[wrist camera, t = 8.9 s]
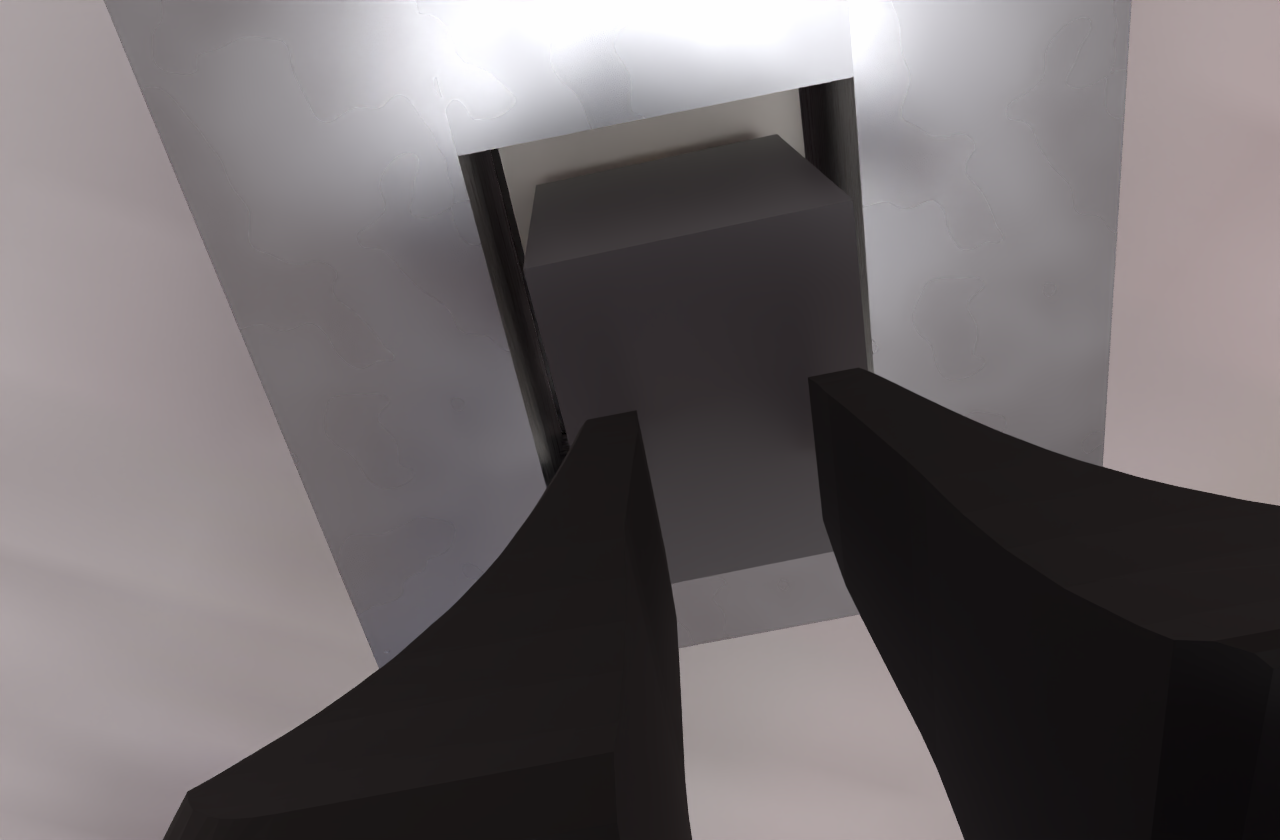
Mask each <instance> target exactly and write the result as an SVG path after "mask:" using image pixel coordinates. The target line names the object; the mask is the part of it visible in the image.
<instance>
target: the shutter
mask: <svg viewBox="0 0 1280 840" xmlns="http://www.w3.org/2000/svg"><path fill="white" fill-rule="evenodd" d="M774 134H778V135H779V136H780V137H781V138H782V139H783V140H785V141H786V142H787V143H788V144H789V145H790V146H791V147H793V148H794V149H795V150H796V151H797V152H798V153H800V154H801V155H802V156H803V157H804V158H805V150H804V140H803V130H802V119H801V109H800V98H799V88H796V89H791V90H786V91H781V92H776V93H771V94H766V95H761V96H756V97H751V98H746V99H741V100H736V101H731V102H726V103H721V104H716V105H711V106H706V107H701V108H696V109H691V110H686V111H681V112H676V113H671V114H666V115H661V116H656V117H651V118H646V119H641V120H636V121H631V122H626V123H621V124H616V125H611V126H606V127H601V128H596V129H591V130H586V131H581V132H576V133H571V134H566V135H561V136H556V137H551V138H546V139H541V140H536V141H531V142H526V143H521V144H516V145H511V146H506V147H501V148H498V150H499V154H500V158H501V163H502V167H503V171H504V175H505V179H506V183H507V187H508V191H509V195H510V199H511V203H512V207H513V211H514V215H515V219H516V223H517V227H518V231H519V235H520V239H521V243H522V247H523V252H524V256H525V253H526V247H527V240H528V234H529V227H530V221H531V214H532V208H533V201H534V195H535V188H536V185H539V184H544V183H549V182H553V181H558V180H563V179H567V178H572V177H577V176H581V175H586V174H591V173H596V172H600V171H605V170H610V169H614V168H619V167H624V166H628V165H633V164H638V163H643V162H647V161H652V160H657V159H661V158H666V157H671V156H675V155H680V154H685V153H690V152H694V151H699V150H704V149H708V148H713V147H718V146H722V145H727V144H732V143H736V142H741V141H746V140H751V139H755V138H760V137H765V136H769V135H774Z"/></svg>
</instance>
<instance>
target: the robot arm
mask: <svg viewBox="0 0 1280 840" xmlns="http://www.w3.org/2000/svg"><path fill="white" fill-rule="evenodd" d="M808 385H809V395H810V404H811V413H812V423H813V432H814V442H815V451H816V461H817V470H818V480H819V489H820V498H821V508H822V517H823V522H824V525H825V528H826V531H827V534H828V537H829V540H830V543H831V546H832V549H833V552H834V555H835V557H836V560H837V563H838V566H839V569H840V571H841V574H842V577H843V580H844V583H845V585H846V588H847V590H848V592H849V594H850V596H851V598H852V600H853V602H854V604H855V606H856V608H857V610H858V612H859V614H860V616H861V618H862V619H863V621H864V623H865V625H866V627H867V629H868V631H869V633H870V635H871V637H872V639H873V641H874V643H875V645H876V647H877V649H878V651H879V653H880V655H881V657H882V659H883V661H884V663H885V664H886V666H887V668H888V670H889V672H890V674H891V676H892V678H893V680H894V682H895V684H896V686H897V688H898V690H899V692H900V694H901V696H902V698H903V699H904V701H905V703H906V705H907V707H908V709H909V711H910V713H911V715H912V717H913V719H914V721H915V723H916V725H917V727H918V729H919V731H920V733H921V735H922V737H923V739H924V741H925V743H926V745H927V748H928V750H929V752H930V754H931V756H932V759H933V761H934V763H935V765H936V767H937V770H938V772H939V775H940V777H941V780H942V782H943V785H944V788H945V790H946V793H947V795H948V798H949V801H950V803H951V806H952V808H953V811H954V814H955V816H956V819H957V821H958V824H959V826H960V829H961V832H962V834H963V837H964V839H965V840H1280V506H1277V505H1271V504H1265V503H1259V502H1252V501H1247V500H1241V499H1236V498H1231V497H1227V496H1222V495H1217V494H1212V493H1207V492H1202V491H1197V490H1192V489H1187V488H1183V487H1178V486H1173V485H1169V484H1165V483H1161V482H1156V481H1152V480H1148V479H1144V478H1140V477H1136V476H1132V475H1129V474H1126V473H1122V472H1119V471H1115V470H1112V469H1108V468H1105V467H1101V466H1098V465H1094V464H1091V463H1088V462H1084V461H1081V460H1077V459H1074V458H1071V457H1068V456H1065V455H1062V454H1059V453H1056V452H1053V451H1050V450H1047V449H1045V448H1042V447H1039V446H1037V445H1034V444H1032V443H1029V442H1026V441H1024V440H1021V439H1019V438H1016V437H1013V436H1011V435H1008V434H1005V433H1003V432H1000V431H998V430H996V429H993V428H991V427H988V426H986V425H984V424H981V423H979V422H977V421H974V420H972V419H970V418H968V417H965V416H963V415H961V414H959V413H956V412H954V411H952V410H950V409H948V408H946V407H943V406H941V405H939V404H937V403H935V402H933V401H931V400H929V399H927V398H924V397H922V396H920V395H918V394H916V393H914V392H912V391H910V390H908V389H906V388H904V387H902V386H900V385H898V384H896V383H894V382H892V381H889V380H887V379H885V378H883V377H881V376H879V375H877V374H874V373H872V372H870V371H867V370H865V369H862V368H859V367H858V368H853V369H848V370H842V371H837V372H832V373H827V374H822V375H817V376H811V377H808ZM163 840H692V835H691V829H690V822H689V815H688V805H687V794H686V783H685V769H684V749H683V729H682V708H681V688H680V668H679V649H678V630H677V616H676V610H675V604H674V598H673V592H672V586H671V581H670V575H669V569H668V563H667V557H666V552H665V546H664V542H663V537H662V532H661V527H660V522H659V517H658V512H657V507H656V503H655V498H654V493H653V488H652V483H651V478H650V473H649V468H648V464H647V459H646V454H645V449H644V444H643V439H642V434H641V429H640V425H639V420H638V415H637V410H635V411H630V412H625V413H619V414H614V415H609V416H604V417H599V418H593V419H588V420H586V421H585V423H584V424H583V426H582V427H581V428H580V430H579V432H578V433H577V435H576V437H575V439H574V441H573V443H572V445H571V447H570V449H569V451H568V453H567V454H566V456H565V458H564V460H563V462H562V463H561V465H560V467H559V469H558V470H557V472H556V474H555V476H554V477H553V479H552V480H551V482H550V484H549V485H548V487H547V488H546V490H545V492H544V493H543V495H542V496H541V498H540V500H539V501H538V503H537V504H536V506H535V507H534V509H533V510H532V512H531V513H530V515H529V516H528V518H527V519H526V520H525V522H524V523H523V524H522V526H521V527H520V529H519V530H518V531H517V533H516V534H515V535H514V537H513V538H512V539H511V541H510V542H509V544H508V545H507V546H506V548H505V549H504V550H503V552H502V553H501V554H500V555H499V557H498V558H497V559H496V560H495V561H494V562H493V564H492V565H491V566H490V567H489V568H488V569H487V571H486V572H485V573H484V574H483V575H482V576H481V577H480V578H479V579H478V580H477V581H476V582H475V583H474V584H473V585H472V586H471V587H470V589H469V590H468V591H467V592H466V593H465V594H464V595H463V596H462V597H461V598H460V599H459V600H458V601H457V602H456V603H455V604H454V605H453V606H452V607H451V608H450V609H449V610H448V611H446V612H445V613H444V614H443V615H442V616H441V617H440V618H438V619H437V620H436V621H435V622H434V623H433V624H432V625H431V626H429V627H428V628H427V629H426V630H425V631H424V632H423V633H421V634H420V635H419V636H418V637H417V638H416V639H415V640H413V641H412V642H411V643H410V644H409V645H408V646H407V647H406V648H404V649H403V650H402V651H401V652H400V653H399V654H398V655H396V656H395V657H394V658H393V659H391V660H390V661H389V662H388V663H386V664H385V665H384V666H383V667H381V668H380V669H379V670H377V671H376V672H375V673H373V674H372V675H371V676H369V677H368V678H367V679H365V680H364V681H363V682H361V683H360V684H359V685H357V686H356V687H355V688H353V689H352V690H351V691H349V692H348V693H346V694H345V695H343V696H342V697H341V698H339V699H338V700H336V701H335V702H333V703H332V704H331V705H329V706H328V707H326V708H325V709H323V710H322V711H321V712H319V713H318V714H316V715H315V716H313V717H312V718H310V719H309V720H307V721H306V722H304V723H302V724H301V725H299V726H298V727H296V728H295V729H293V730H292V731H290V732H288V733H287V734H285V735H283V736H282V737H280V738H278V739H277V740H275V741H273V742H272V743H270V744H268V745H267V746H265V747H263V748H262V749H260V750H258V751H257V752H255V753H253V754H252V755H250V756H248V757H247V758H245V759H243V760H242V761H240V762H238V763H237V764H235V765H233V766H232V767H230V768H228V769H227V770H225V771H223V772H222V773H220V774H218V775H217V776H215V777H213V778H211V779H210V780H208V781H206V782H204V783H202V784H201V785H199V786H197V787H195V788H193V789H192V790H190V791H188V792H187V794H186V796H185V798H184V800H183V802H182V803H181V805H180V807H179V809H178V811H177V813H176V815H175V817H174V819H173V821H172V823H171V825H170V827H169V829H168V831H167V833H166V835H165V837H164V839H163Z"/></svg>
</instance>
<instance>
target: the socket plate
mask: <svg viewBox="0 0 1280 840" xmlns="http://www.w3.org/2000/svg"><path fill="white" fill-rule="evenodd" d="M104 2H105V4H106V7H107V9H108V12H109V14H110V16H111V19H112V21H113V24H114V26H115V28H116V31H117V33H118V36H119V38H120V41H121V43H122V45H123V48H124V50H125V53H126V55H127V58H128V60H129V62H130V65H131V67H132V70H133V72H134V75H135V77H136V79H137V82H138V84H139V87H140V89H141V92H142V94H143V96H144V99H145V101H146V104H147V106H148V109H149V111H150V113H151V116H152V118H153V121H154V123H155V126H156V128H157V130H158V133H159V135H160V138H161V140H162V143H163V145H164V147H165V150H166V152H167V155H168V157H169V160H170V162H171V164H172V167H173V169H174V172H175V174H176V177H177V179H178V181H179V184H180V186H181V189H182V191H183V194H184V196H185V198H186V201H187V203H188V206H189V208H190V210H191V213H192V215H193V218H194V220H195V223H196V225H197V227H198V230H199V232H200V235H201V237H202V240H203V242H204V244H205V247H206V249H207V252H208V254H209V257H210V259H211V261H212V264H213V266H214V269H215V271H216V274H217V276H218V278H219V281H220V283H221V286H222V288H223V291H224V293H225V295H226V298H227V300H228V303H229V305H230V308H231V310H232V312H233V315H234V317H235V320H236V322H237V325H238V327H239V329H240V332H241V334H242V337H243V339H244V342H245V344H246V346H247V349H248V351H249V354H250V356H251V359H252V361H253V363H254V366H255V368H256V371H257V373H258V376H259V378H260V380H261V383H262V385H263V388H264V390H265V393H266V395H267V397H268V400H269V402H270V405H271V407H272V409H273V412H274V414H275V417H276V419H277V422H278V424H279V426H280V429H281V431H282V434H283V436H284V439H285V441H286V443H287V446H288V448H289V451H290V453H291V456H292V458H293V460H294V463H295V465H296V468H297V470H298V473H299V475H300V477H301V480H302V482H303V485H304V487H305V490H306V492H307V494H308V497H309V499H310V502H311V504H312V507H313V509H314V511H315V514H316V516H317V519H318V521H319V524H320V526H321V528H322V531H323V533H324V536H325V538H326V541H327V543H328V545H329V548H330V550H331V553H332V555H333V558H334V560H335V562H336V565H337V567H338V570H339V572H340V575H341V577H342V579H343V582H344V584H345V587H346V589H347V591H348V594H349V596H350V599H351V601H352V604H353V606H354V608H355V611H356V613H357V616H358V618H359V621H360V623H361V625H362V628H363V630H364V633H365V635H366V638H367V640H368V642H369V645H370V647H371V650H372V652H373V655H374V657H375V659H376V662H377V664H378V667H379V669H380V668H381V667H383V666H384V665H385V664H386V663H388V662H389V661H390V660H391V659H393V658H394V657H395V656H396V655H398V654H399V653H400V652H401V651H402V650H403V649H404V648H406V647H407V646H408V645H409V644H410V643H411V642H412V641H413V640H415V639H416V638H417V637H418V636H419V635H420V634H421V633H423V632H424V631H425V630H426V629H427V628H428V627H429V626H431V625H432V624H433V623H434V622H435V621H436V620H437V619H438V618H440V617H441V616H442V615H443V614H444V613H445V612H446V611H448V610H449V609H450V608H451V607H452V606H453V605H454V604H455V603H456V602H457V601H458V600H459V599H460V598H461V597H462V596H463V595H464V594H465V593H466V592H467V591H468V590H469V589H470V587H471V586H472V585H473V584H474V583H475V582H476V581H477V580H478V579H479V578H480V577H481V576H482V575H483V574H484V573H485V572H486V571H487V569H488V568H489V567H490V566H491V565H492V564H493V562H494V561H495V560H496V559H497V558H498V557H499V555H500V554H501V553H502V552H503V550H504V549H505V548H506V546H507V545H508V544H509V542H510V541H511V539H512V538H513V537H514V535H515V534H516V533H517V531H518V530H519V529H520V527H521V526H522V524H523V523H524V522H525V520H526V519H527V518H528V516H529V515H530V513H531V512H532V510H533V509H534V507H535V506H536V504H537V503H538V501H539V500H540V498H541V496H542V495H543V493H544V492H545V490H546V488H547V487H548V485H549V484H550V482H551V480H552V479H553V477H554V476H555V474H556V472H557V470H558V469H559V467H560V465H561V463H562V462H563V460H564V458H565V456H566V454H567V453H568V451H569V449H570V445H569V441H568V438H567V434H565V435H562V433H561V429H560V425H559V421H558V417H557V413H556V409H555V405H554V401H553V397H552V393H551V389H550V385H549V381H548V377H547V373H546V369H545V365H544V361H543V357H542V353H541V349H540V346H539V342H538V338H537V334H536V330H535V326H534V322H533V318H532V314H531V310H530V306H529V302H528V298H527V294H526V290H525V286H524V282H523V278H522V274H521V270H520V266H519V262H518V258H517V254H516V250H515V246H514V242H513V238H512V234H511V230H510V226H509V222H508V218H507V214H506V210H505V206H504V202H503V198H502V194H501V190H500V186H499V182H498V178H497V174H496V170H495V166H494V162H493V158H492V154H491V149H496V148H501V147H506V146H511V145H516V144H521V143H526V142H531V141H536V140H541V139H546V138H551V137H556V136H561V135H566V134H571V133H576V132H581V131H586V130H591V129H596V128H601V127H606V126H611V125H616V124H621V123H626V122H631V121H636V120H641V119H646V118H651V117H656V116H661V115H666V114H671V113H676V112H681V111H686V110H691V109H696V108H701V107H706V106H711V105H716V104H721V103H726V102H731V101H736V100H741V99H746V98H751V97H756V96H761V95H766V94H771V93H776V92H781V91H786V90H791V89H796V88H799V98H800V109H801V119H802V130H803V140H804V150H805V159H807V160H808V161H809V162H810V163H811V164H812V165H813V166H815V167H816V168H817V169H818V170H819V171H820V172H822V173H823V174H824V175H825V176H826V177H827V178H828V179H830V180H831V181H832V182H833V183H834V184H835V185H837V186H838V187H839V188H840V189H841V190H842V191H843V192H845V193H846V194H847V195H848V196H849V197H850V198H852V199H853V205H854V217H855V228H856V240H857V251H858V263H859V274H860V286H861V297H862V309H863V320H864V332H865V343H866V355H867V366H868V371H870V372H872V373H874V374H877V375H879V376H881V377H883V378H885V379H887V380H889V381H892V382H894V383H896V384H898V385H900V386H902V387H904V388H906V389H908V390H910V391H912V392H914V393H916V394H918V395H920V396H922V397H924V398H927V399H929V400H931V401H933V402H935V403H937V404H939V405H941V406H943V407H946V408H948V409H950V410H952V411H954V412H956V413H959V414H961V415H963V416H965V417H968V418H970V419H972V420H974V421H977V422H979V423H981V424H984V425H986V426H988V427H991V428H993V429H996V430H998V431H1000V432H1003V433H1005V434H1008V435H1011V436H1013V437H1016V438H1019V439H1021V440H1024V441H1026V442H1029V443H1032V444H1034V445H1037V446H1039V447H1042V448H1045V449H1047V450H1050V451H1053V452H1056V453H1059V454H1062V455H1065V456H1068V457H1071V458H1074V459H1077V460H1081V461H1084V462H1088V463H1091V464H1094V465H1098V466H1101V467H1103V452H1104V436H1105V420H1106V404H1107V387H1108V371H1109V355H1110V339H1111V323H1112V307H1113V290H1114V274H1115V258H1116V242H1117V226H1118V210H1119V193H1120V177H1121V161H1122V145H1123V129H1124V113H1125V97H1126V80H1127V64H1128V48H1129V32H1130V16H1131V0H104ZM671 586H672V592H673V598H674V604H675V610H676V616H677V630H678V648H682V647H687V646H693V645H698V644H704V643H709V642H714V641H720V640H725V639H730V638H736V637H741V636H746V635H752V634H757V633H762V632H768V631H773V630H779V629H784V628H789V627H795V626H800V625H805V624H811V623H816V622H821V621H827V620H832V619H837V618H843V617H848V616H854V615H859V612H858V610H857V608H856V606H855V604H854V602H853V600H852V598H851V596H850V594H849V592H848V590H847V588H846V585H845V583H844V580H843V577H842V574H841V571H840V569H839V566H838V563H837V560H836V557H835V555H834V552H829V553H824V554H819V555H814V556H809V557H804V558H799V559H794V560H789V561H784V562H779V563H774V564H769V565H764V566H759V567H754V568H748V569H743V570H738V571H733V572H728V573H723V574H718V575H713V576H708V577H703V578H698V579H693V580H688V581H683V582H678V583H673V584H671Z"/></svg>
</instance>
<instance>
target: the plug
mask: <svg viewBox="0 0 1280 840" xmlns="http://www.w3.org/2000/svg"><path fill="white" fill-rule="evenodd" d="M523 271H524V275H525V279H526V282H527V286H528V290H529V294H530V298H531V301H532V305H533V309H534V313H535V316H536V320H537V324H538V328H539V332H540V335H541V339H542V343H543V347H544V351H545V354H546V358H547V362H548V366H549V369H550V373H551V377H552V381H553V385H554V388H555V392H556V396H557V400H558V404H559V407H560V411H561V415H562V419H563V422H564V426H565V430H566V434H567V438H568V441H569V445H570V447H571V445H572V443H573V441H574V439H575V437H576V435H577V433H578V432H579V430H580V428H581V427H582V426H583V424H584V423H585V421H586V420H588V419H593V418H599V417H604V416H609V415H614V414H619V413H625V412H630V411H635V410H637V415H638V420H639V425H640V429H641V434H642V439H643V444H644V449H645V454H646V459H647V464H648V468H649V473H650V478H651V483H652V488H653V493H654V498H655V503H656V507H657V512H658V517H659V522H660V527H661V532H662V537H663V542H664V546H665V552H666V557H667V563H668V569H669V575H670V581H671V584H673V583H678V582H683V581H688V580H693V579H698V578H703V577H708V576H713V575H718V574H723V573H728V572H733V571H738V570H743V569H748V568H754V567H759V566H764V565H769V564H774V563H779V562H784V561H789V560H794V559H799V558H804V557H809V556H814V555H819V554H824V553H829V552H833V549H832V546H831V543H830V540H829V537H828V534H827V531H826V528H825V525H824V522H823V517H822V508H821V498H820V489H819V480H818V470H817V461H816V451H815V442H814V432H813V423H812V413H811V404H810V395H809V385H808V377H811V376H817V375H822V374H827V373H832V372H837V371H842V370H848V369H853V368H858V367H859V368H862V369H865V370H867V371H868V366H867V355H866V343H865V332H864V320H863V309H862V297H861V286H860V274H859V263H858V251H857V240H856V228H855V217H854V205H853V199H852V198H850V197H849V196H848V195H847V194H846V193H845V192H843V191H842V190H841V189H840V188H839V187H838V186H837V185H835V184H834V183H833V182H832V181H831V180H830V179H828V178H827V177H826V176H825V175H824V174H823V173H822V172H820V171H819V170H818V169H817V168H816V167H815V166H813V165H812V164H811V163H810V162H809V161H808V160H807V159H805V158H804V157H803V156H802V155H801V154H800V153H798V152H797V151H796V150H795V149H794V148H793V147H791V146H790V145H789V144H788V143H787V142H786V141H785V140H783V139H782V138H781V137H780V136H779V135H778V134H774V135H769V136H765V137H760V138H755V139H751V140H746V141H741V142H736V143H732V144H727V145H722V146H718V147H713V148H708V149H704V150H699V151H694V152H690V153H685V154H680V155H675V156H671V157H666V158H661V159H657V160H652V161H647V162H643V163H638V164H633V165H628V166H624V167H619V168H614V169H610V170H605V171H600V172H596V173H591V174H586V175H581V176H577V177H572V178H567V179H563V180H558V181H553V182H549V183H544V184H539V185H536V188H535V195H534V201H533V208H532V214H531V221H530V227H529V234H528V240H527V247H526V253H525V260H524V266H523Z"/></svg>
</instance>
